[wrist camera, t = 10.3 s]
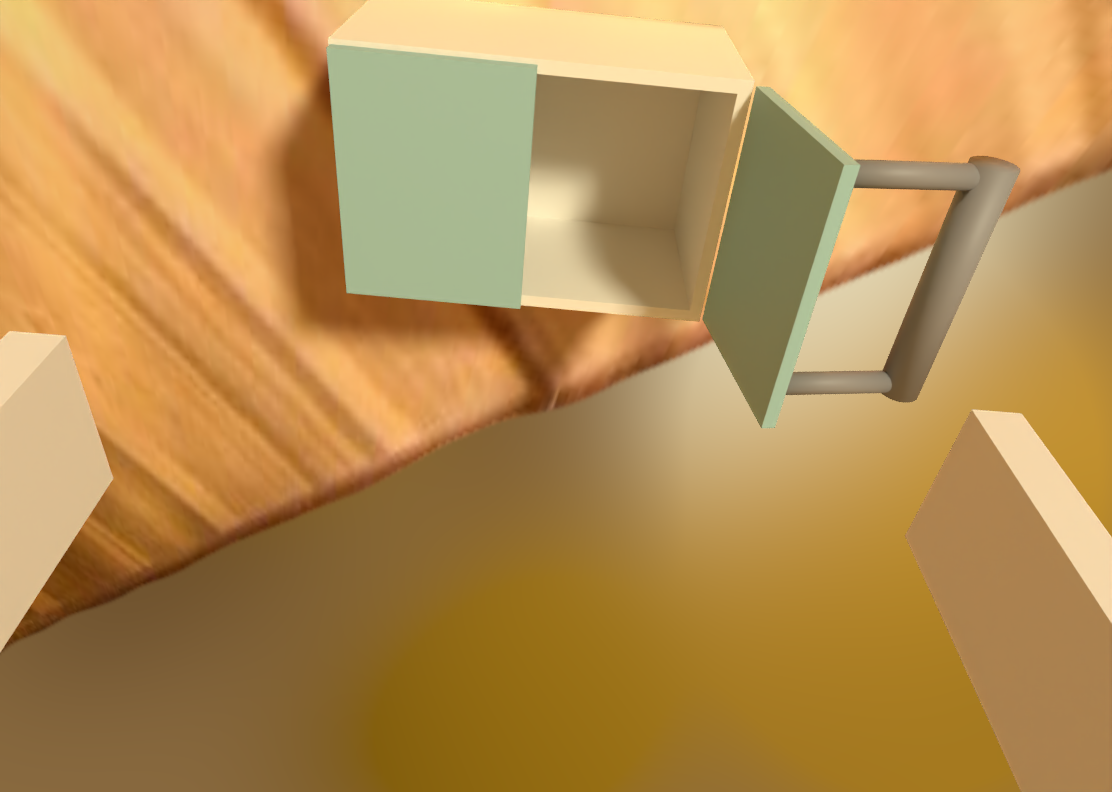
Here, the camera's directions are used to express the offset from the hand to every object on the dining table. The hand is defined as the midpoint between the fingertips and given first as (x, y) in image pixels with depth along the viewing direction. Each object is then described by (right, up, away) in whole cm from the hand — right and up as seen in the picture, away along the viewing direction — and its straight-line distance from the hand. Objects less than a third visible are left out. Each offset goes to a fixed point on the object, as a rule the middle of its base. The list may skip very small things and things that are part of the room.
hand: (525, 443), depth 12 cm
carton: (0, +16, +33) cm, 37 cm away
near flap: (+9, +7, +22) cm, 24 cm away
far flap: (-5, +10, +25) cm, 27 cm away
